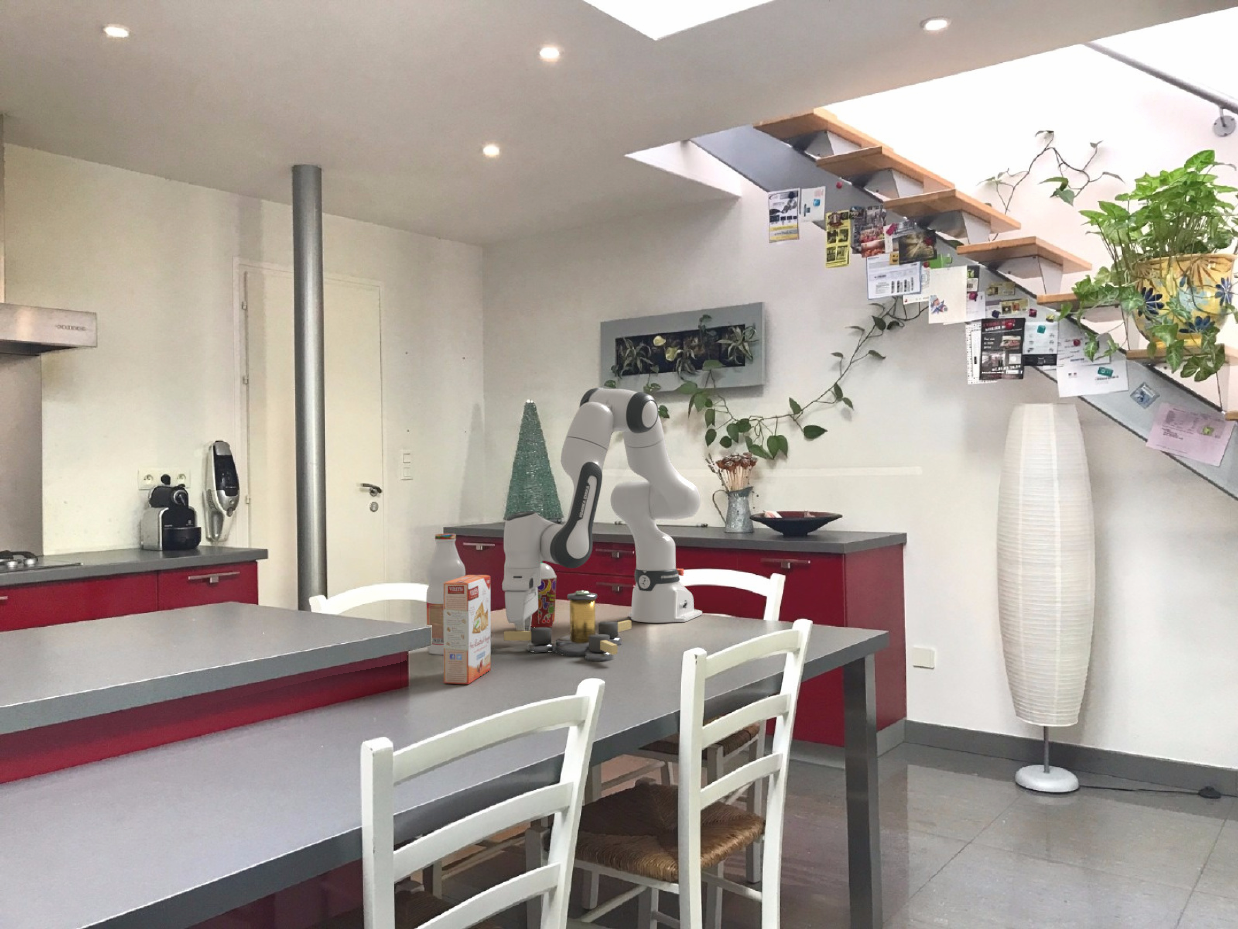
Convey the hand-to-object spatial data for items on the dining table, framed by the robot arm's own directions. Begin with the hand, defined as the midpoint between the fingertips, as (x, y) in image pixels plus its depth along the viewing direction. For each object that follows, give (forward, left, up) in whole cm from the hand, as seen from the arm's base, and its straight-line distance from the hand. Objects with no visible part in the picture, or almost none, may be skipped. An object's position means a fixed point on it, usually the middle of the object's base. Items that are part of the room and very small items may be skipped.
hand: (523, 635), depth 240 cm
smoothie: (-24, -15, -3) cm, 28 cm away
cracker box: (+31, +12, -3) cm, 34 cm away
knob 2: (+3, +27, -1) cm, 27 cm away
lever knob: (-17, +15, -1) cm, 23 cm away
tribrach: (-6, +15, -3) cm, 17 cm away
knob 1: (+3, +4, -1) cm, 5 cm away
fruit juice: (+14, -12, -3) cm, 19 cm away
